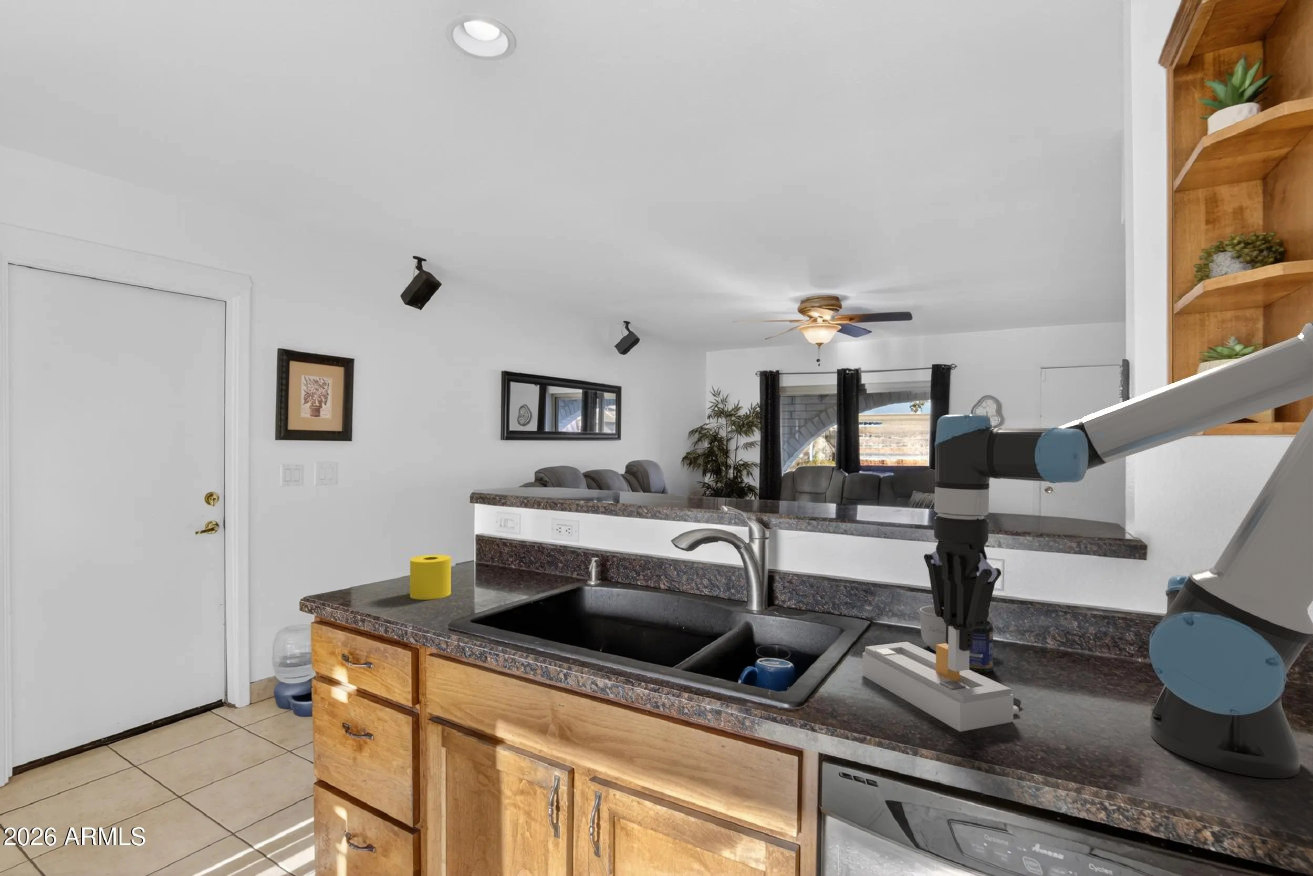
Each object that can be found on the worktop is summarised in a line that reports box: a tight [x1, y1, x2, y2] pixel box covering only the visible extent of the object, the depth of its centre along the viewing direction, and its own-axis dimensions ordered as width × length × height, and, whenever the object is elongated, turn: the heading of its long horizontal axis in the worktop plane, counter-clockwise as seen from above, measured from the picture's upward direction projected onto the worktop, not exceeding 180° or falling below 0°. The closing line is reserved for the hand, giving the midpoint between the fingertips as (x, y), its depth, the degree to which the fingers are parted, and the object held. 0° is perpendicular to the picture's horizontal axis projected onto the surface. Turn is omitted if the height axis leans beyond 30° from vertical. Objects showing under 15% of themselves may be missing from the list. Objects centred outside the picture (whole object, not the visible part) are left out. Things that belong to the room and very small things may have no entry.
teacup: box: [919, 605, 996, 652], centre depth 124 cm, size 14×11×8 cm
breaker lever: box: [935, 643, 960, 681], centre depth 99 cm, size 2×2×5 cm
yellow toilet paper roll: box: [409, 554, 452, 601], centre depth 164 cm, size 10×10×9 cm
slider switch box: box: [862, 641, 1014, 732], centre depth 102 cm, size 22×10×5 cm, turn 19°
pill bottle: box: [966, 610, 994, 674], centre depth 115 cm, size 6×6×11 cm
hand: (958, 668), depth 96 cm, fingers closed
